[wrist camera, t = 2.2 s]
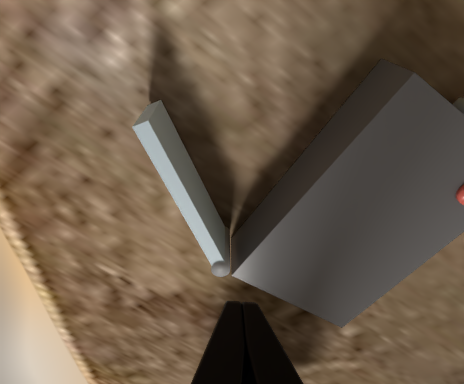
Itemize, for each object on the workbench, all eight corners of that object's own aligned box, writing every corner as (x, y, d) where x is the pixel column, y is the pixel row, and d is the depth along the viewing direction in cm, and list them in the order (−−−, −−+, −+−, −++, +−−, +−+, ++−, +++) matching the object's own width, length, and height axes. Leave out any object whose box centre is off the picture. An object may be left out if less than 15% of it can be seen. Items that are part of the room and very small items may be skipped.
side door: (232, 235, 23) (233, 273, 20) (217, 240, 23) (215, 278, 20) (163, 98, 18) (150, 120, 15) (145, 105, 18) (128, 128, 15)
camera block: (328, 288, 26) (343, 331, 22) (230, 238, 23) (231, 279, 20) (499, 136, 19) (555, 166, 16) (393, 44, 17) (434, 56, 13)
